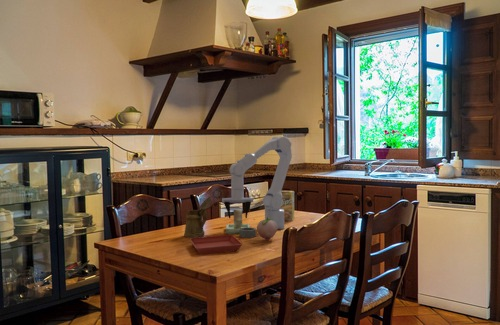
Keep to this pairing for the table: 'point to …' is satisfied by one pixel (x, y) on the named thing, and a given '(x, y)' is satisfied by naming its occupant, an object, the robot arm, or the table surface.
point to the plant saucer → (216, 244)
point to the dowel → (237, 219)
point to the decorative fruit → (267, 228)
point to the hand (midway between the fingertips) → (237, 217)
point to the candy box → (288, 205)
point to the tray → (231, 229)
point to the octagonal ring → (247, 232)
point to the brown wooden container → (196, 221)
